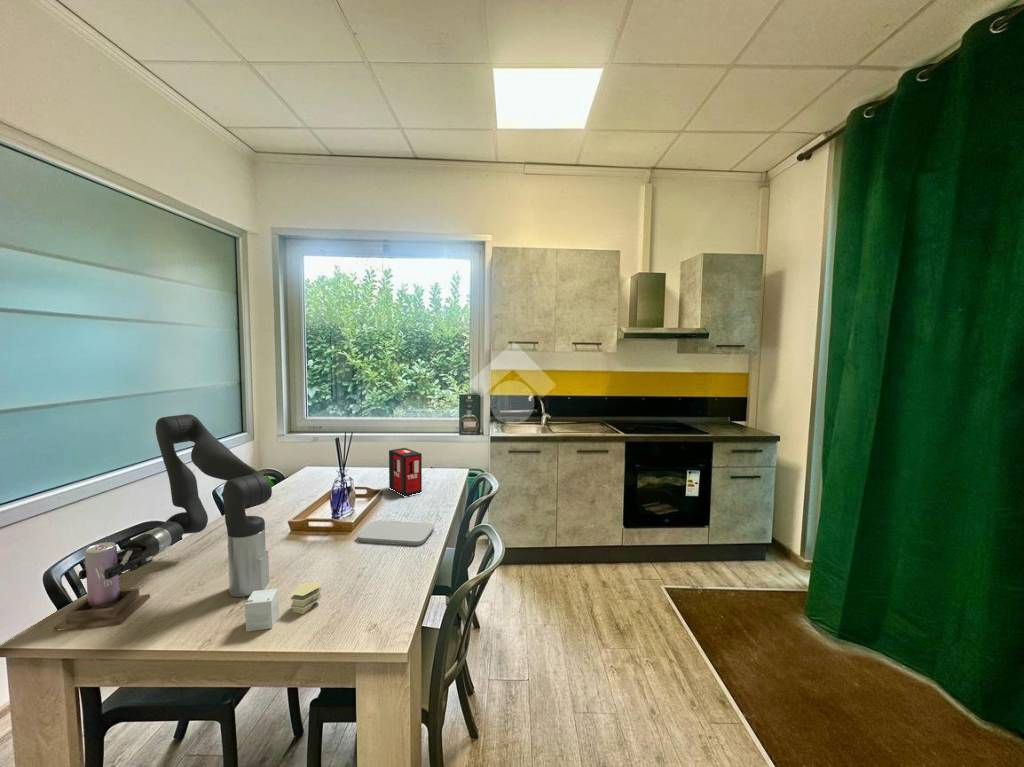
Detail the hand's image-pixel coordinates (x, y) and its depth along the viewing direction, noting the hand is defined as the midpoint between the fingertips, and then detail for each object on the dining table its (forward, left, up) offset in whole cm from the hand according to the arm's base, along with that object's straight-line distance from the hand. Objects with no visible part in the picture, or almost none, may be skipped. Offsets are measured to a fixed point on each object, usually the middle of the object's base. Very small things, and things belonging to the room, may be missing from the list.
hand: (93, 575), depth 108 cm
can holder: (-1, -2, -11) cm, 12 cm away
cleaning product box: (-74, -90, -12) cm, 117 cm away
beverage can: (0, -2, -9) cm, 9 cm away
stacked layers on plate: (-52, +4, -12) cm, 53 cm away
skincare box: (-42, +10, -12) cm, 45 cm away
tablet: (-73, -38, -12) cm, 83 cm away
